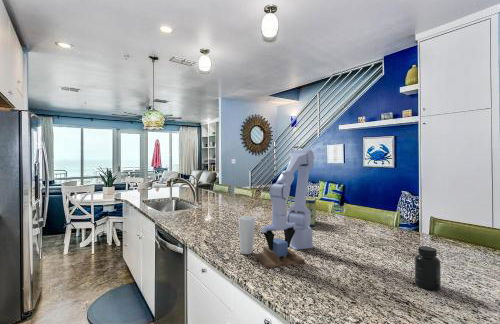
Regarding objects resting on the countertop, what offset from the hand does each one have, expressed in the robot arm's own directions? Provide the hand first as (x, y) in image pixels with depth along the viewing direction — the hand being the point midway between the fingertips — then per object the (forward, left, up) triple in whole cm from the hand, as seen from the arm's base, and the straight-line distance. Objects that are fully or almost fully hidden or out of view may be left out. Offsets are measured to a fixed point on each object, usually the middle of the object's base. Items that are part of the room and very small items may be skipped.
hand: (279, 248), depth 106 cm
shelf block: (0, 0, -2) cm, 2 cm away
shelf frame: (0, 0, -4) cm, 4 cm away
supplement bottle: (-35, +35, -5) cm, 50 cm away
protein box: (-41, -47, -5) cm, 63 cm away
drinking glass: (+10, -11, -5) cm, 16 cm away
